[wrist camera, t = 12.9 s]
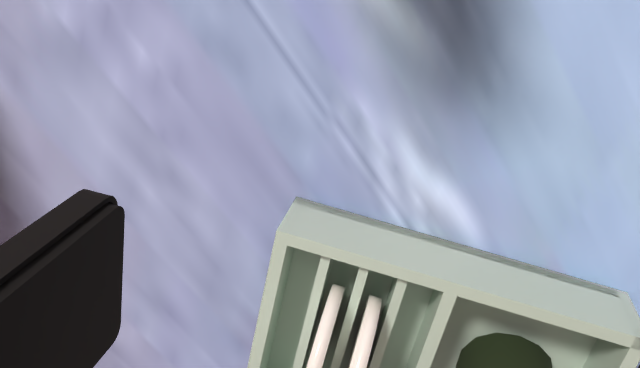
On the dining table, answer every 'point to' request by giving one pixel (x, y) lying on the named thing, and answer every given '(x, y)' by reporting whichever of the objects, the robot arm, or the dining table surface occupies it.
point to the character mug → (502, 353)
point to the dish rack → (426, 298)
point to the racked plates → (363, 334)
